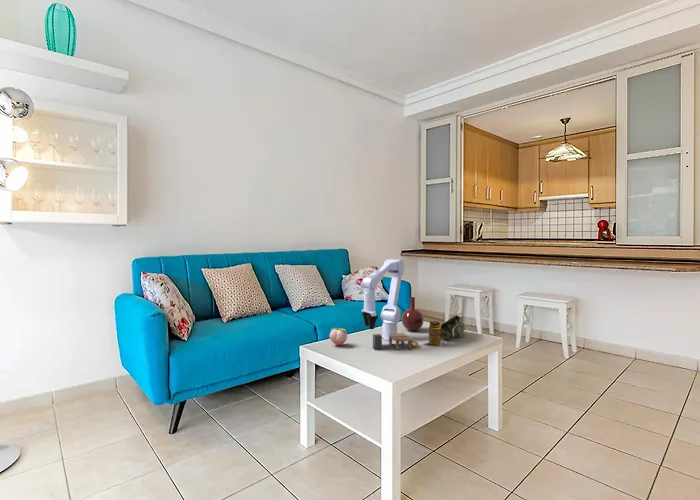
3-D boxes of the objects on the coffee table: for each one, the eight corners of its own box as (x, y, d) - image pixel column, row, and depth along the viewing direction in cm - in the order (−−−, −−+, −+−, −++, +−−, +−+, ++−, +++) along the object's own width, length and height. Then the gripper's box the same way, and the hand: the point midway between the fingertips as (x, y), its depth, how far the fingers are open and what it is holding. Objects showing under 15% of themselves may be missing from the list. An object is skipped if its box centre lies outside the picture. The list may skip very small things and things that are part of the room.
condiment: (444, 345, 200) (444, 322, 200) (432, 347, 196) (432, 324, 195) (433, 342, 207) (434, 319, 206) (422, 344, 202) (422, 321, 201)
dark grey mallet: (372, 348, 196) (372, 334, 195) (402, 345, 200) (402, 332, 200) (375, 350, 192) (374, 336, 192) (405, 347, 196) (405, 334, 196)
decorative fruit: (349, 344, 203) (349, 325, 203) (345, 348, 195) (345, 328, 195) (332, 342, 206) (332, 324, 205) (327, 346, 198) (327, 327, 198)
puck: (406, 345, 201) (406, 341, 201) (415, 344, 202) (415, 340, 202) (410, 348, 196) (410, 343, 196) (419, 347, 198) (419, 342, 198)
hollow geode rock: (442, 352, 204) (461, 334, 198) (425, 333, 209) (443, 315, 203) (460, 338, 227) (477, 322, 221) (444, 322, 232) (461, 306, 225)
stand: (388, 344, 202) (388, 334, 202) (403, 343, 204) (403, 333, 204) (396, 350, 192) (396, 339, 192) (411, 349, 194) (411, 338, 194)
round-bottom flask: (412, 327, 241) (413, 295, 240) (428, 331, 230) (428, 298, 229) (397, 330, 233) (397, 297, 233) (412, 334, 222) (412, 300, 222)
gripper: (358, 299, 204) (358, 324, 204) (366, 303, 190) (366, 331, 190) (370, 298, 206) (370, 323, 206) (379, 303, 192) (379, 330, 192)
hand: (369, 327), depth 198 cm, fingers open, 7 cm apart
